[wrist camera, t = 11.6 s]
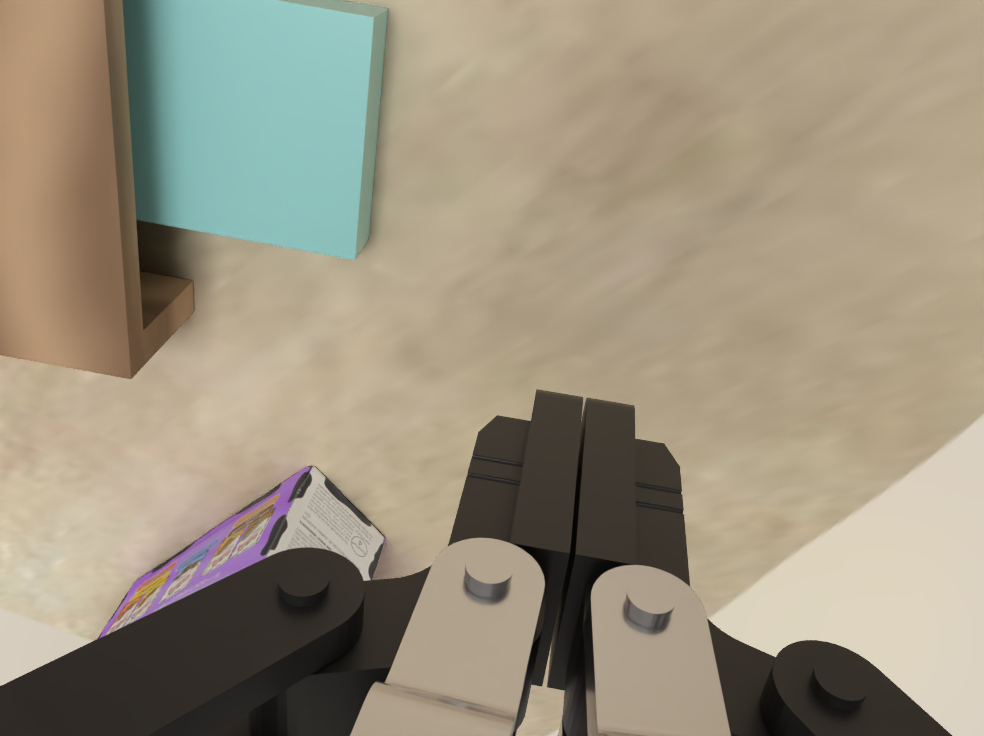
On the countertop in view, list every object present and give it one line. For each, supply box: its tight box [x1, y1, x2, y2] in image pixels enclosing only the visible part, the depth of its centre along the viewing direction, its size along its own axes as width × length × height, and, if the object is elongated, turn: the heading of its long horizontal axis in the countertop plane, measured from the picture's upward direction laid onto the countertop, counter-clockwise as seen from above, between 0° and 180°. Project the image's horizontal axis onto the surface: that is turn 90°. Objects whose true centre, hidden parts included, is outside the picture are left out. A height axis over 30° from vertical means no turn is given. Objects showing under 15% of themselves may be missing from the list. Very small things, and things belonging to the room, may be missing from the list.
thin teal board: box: [122, 0, 388, 260], centre depth 33 cm, size 16×9×3 cm, turn 81°
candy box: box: [98, 466, 385, 639], centre depth 39 cm, size 14×6×16 cm, turn 129°
